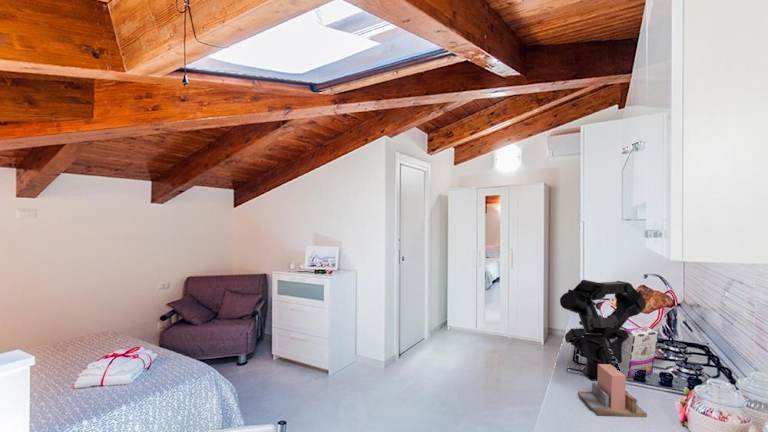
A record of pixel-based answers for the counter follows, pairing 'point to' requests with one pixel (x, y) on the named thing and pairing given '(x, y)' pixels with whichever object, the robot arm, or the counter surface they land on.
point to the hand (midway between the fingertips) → (606, 362)
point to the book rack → (601, 401)
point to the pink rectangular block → (612, 385)
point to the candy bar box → (638, 351)
